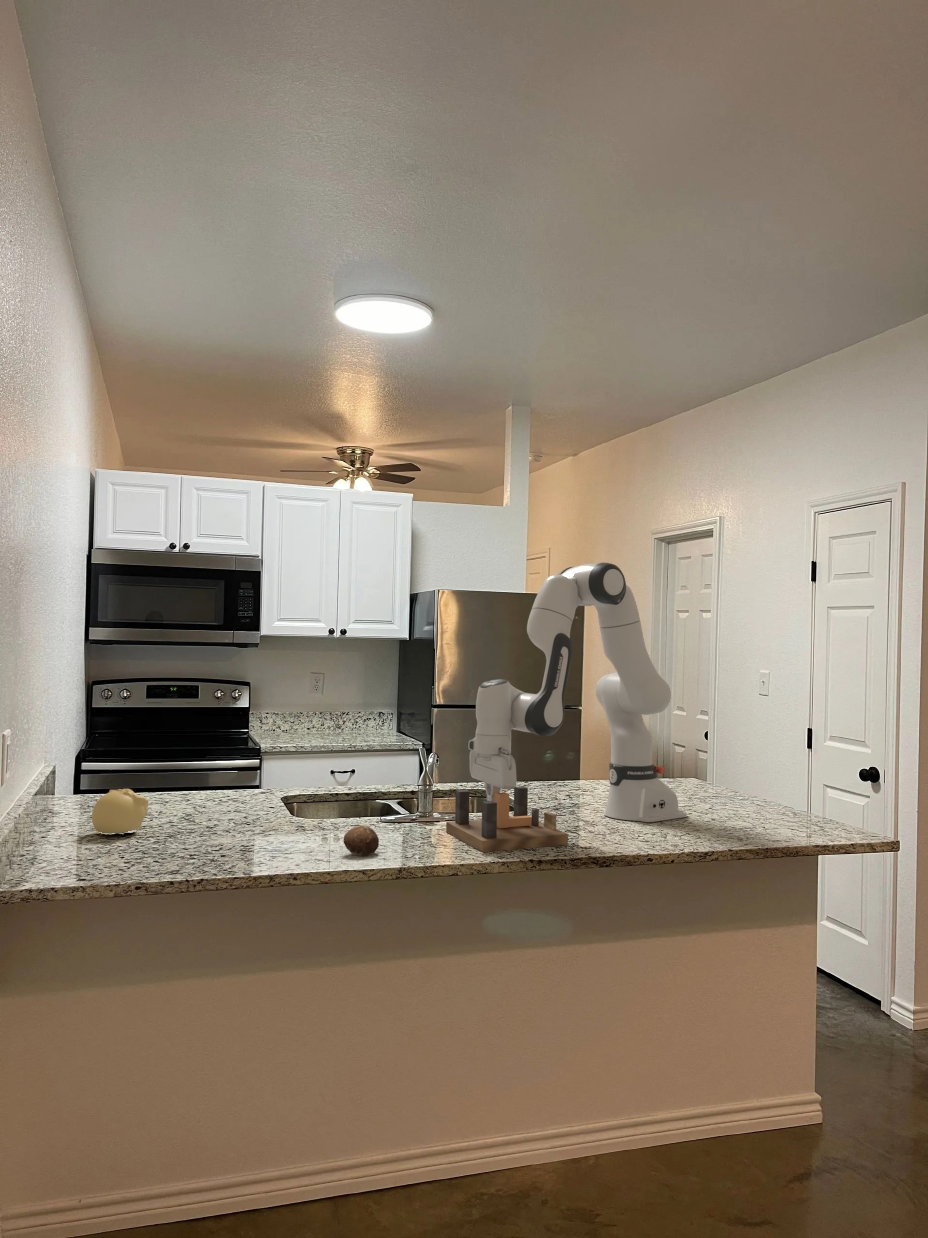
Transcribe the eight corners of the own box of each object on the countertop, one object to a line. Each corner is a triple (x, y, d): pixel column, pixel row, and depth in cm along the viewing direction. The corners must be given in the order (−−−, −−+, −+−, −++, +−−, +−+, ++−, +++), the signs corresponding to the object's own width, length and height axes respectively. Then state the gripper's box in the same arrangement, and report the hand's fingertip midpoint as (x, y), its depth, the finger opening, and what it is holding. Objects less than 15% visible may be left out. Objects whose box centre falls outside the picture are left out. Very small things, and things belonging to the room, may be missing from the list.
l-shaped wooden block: (527, 823, 228) (527, 790, 228) (532, 825, 226) (532, 792, 226) (494, 826, 225) (495, 793, 225) (499, 828, 222) (499, 794, 223)
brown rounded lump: (343, 833, 212) (352, 814, 209) (376, 846, 213) (385, 828, 210) (335, 857, 205) (344, 838, 202) (368, 871, 206) (378, 852, 203)
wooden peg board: (525, 825, 239) (526, 784, 239) (567, 844, 219) (568, 799, 219) (446, 832, 230) (446, 789, 230) (482, 852, 210) (482, 805, 210)
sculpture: (155, 831, 226) (155, 787, 226) (117, 841, 215) (118, 795, 216) (119, 827, 231) (120, 783, 231) (81, 836, 220) (82, 790, 220)
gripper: (523, 750, 221) (522, 809, 221) (488, 740, 240) (487, 794, 240) (499, 751, 219) (498, 810, 218) (465, 741, 237) (464, 795, 237)
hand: (492, 802), depth 229 cm, fingers closed
